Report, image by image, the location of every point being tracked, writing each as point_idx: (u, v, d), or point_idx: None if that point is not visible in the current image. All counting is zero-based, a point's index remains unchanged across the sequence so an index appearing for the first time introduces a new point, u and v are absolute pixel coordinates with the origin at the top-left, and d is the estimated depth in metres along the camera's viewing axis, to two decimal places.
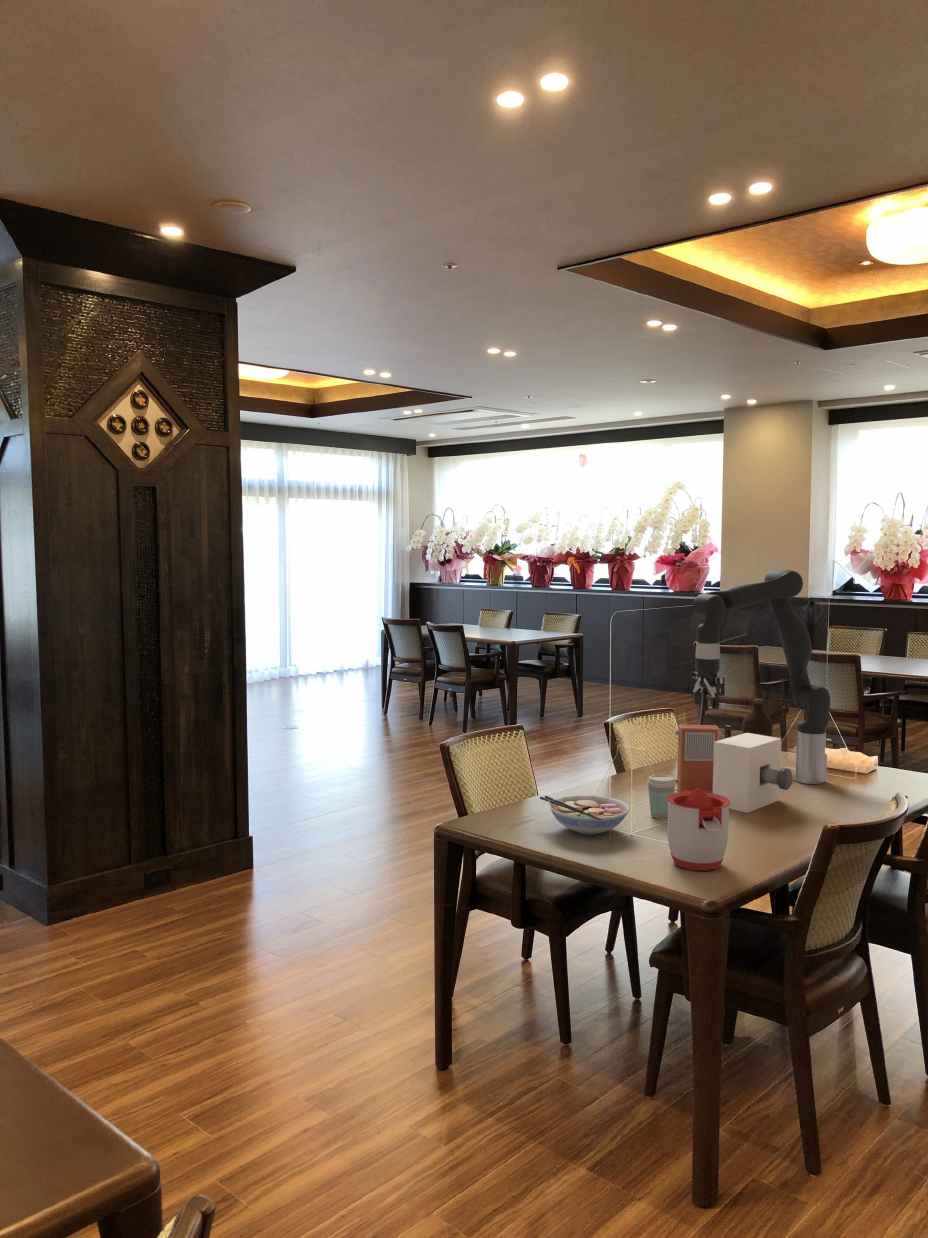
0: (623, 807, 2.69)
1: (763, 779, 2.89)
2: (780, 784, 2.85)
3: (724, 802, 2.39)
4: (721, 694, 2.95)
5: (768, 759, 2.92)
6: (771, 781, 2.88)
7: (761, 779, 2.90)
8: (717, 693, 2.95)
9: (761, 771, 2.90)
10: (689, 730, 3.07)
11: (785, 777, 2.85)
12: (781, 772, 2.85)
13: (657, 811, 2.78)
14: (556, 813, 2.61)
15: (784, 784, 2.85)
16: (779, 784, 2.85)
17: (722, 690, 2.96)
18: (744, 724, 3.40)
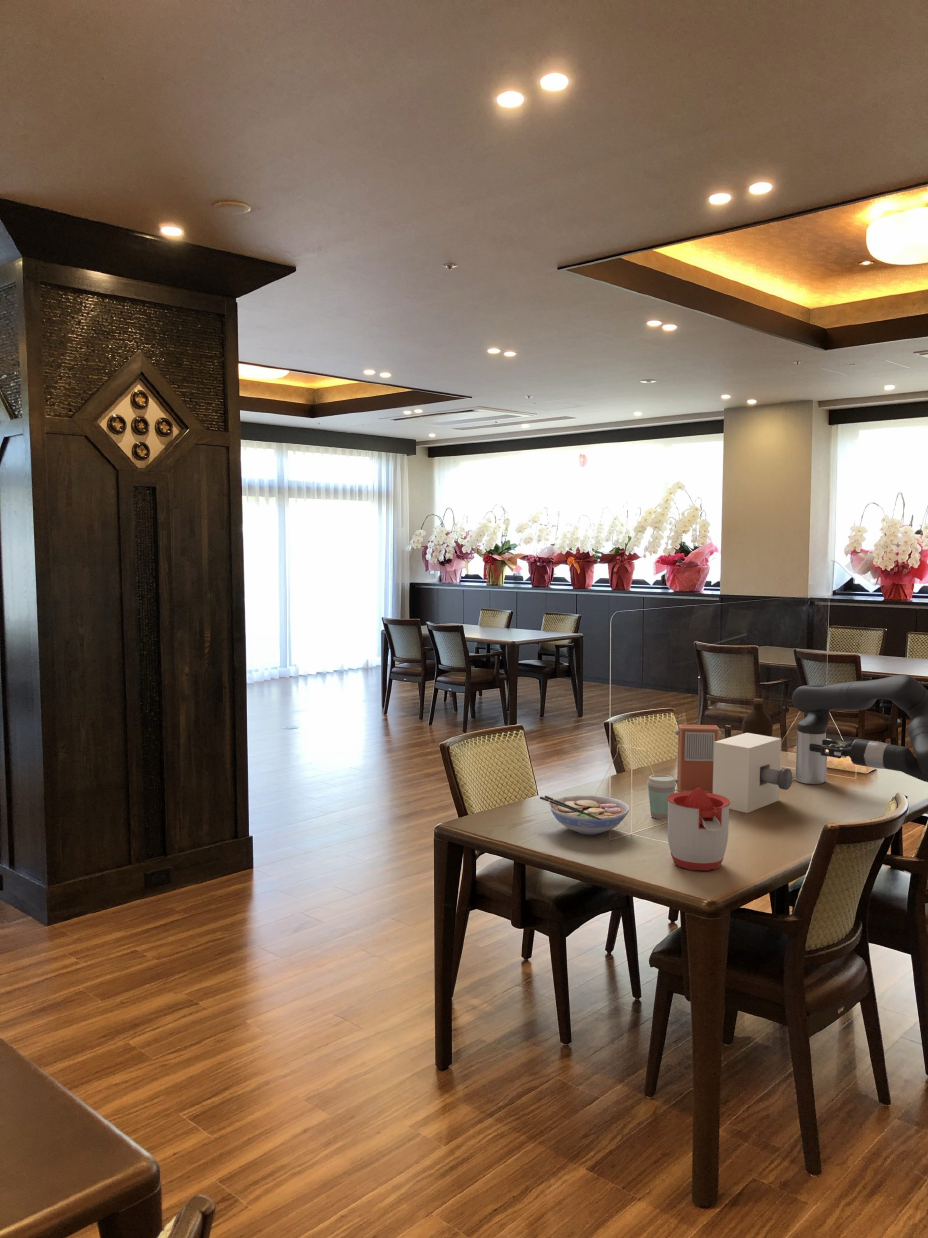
0: (623, 807, 2.69)
1: (763, 779, 2.89)
2: (780, 784, 2.85)
3: (724, 802, 2.39)
4: None
5: (768, 759, 2.92)
6: (771, 781, 2.88)
7: (761, 779, 2.90)
8: None
9: (761, 771, 2.90)
10: (689, 730, 3.07)
11: (785, 777, 2.85)
12: (781, 772, 2.85)
13: (657, 811, 2.78)
14: (556, 813, 2.61)
15: (784, 784, 2.85)
16: (779, 784, 2.85)
17: None
18: (744, 724, 3.40)
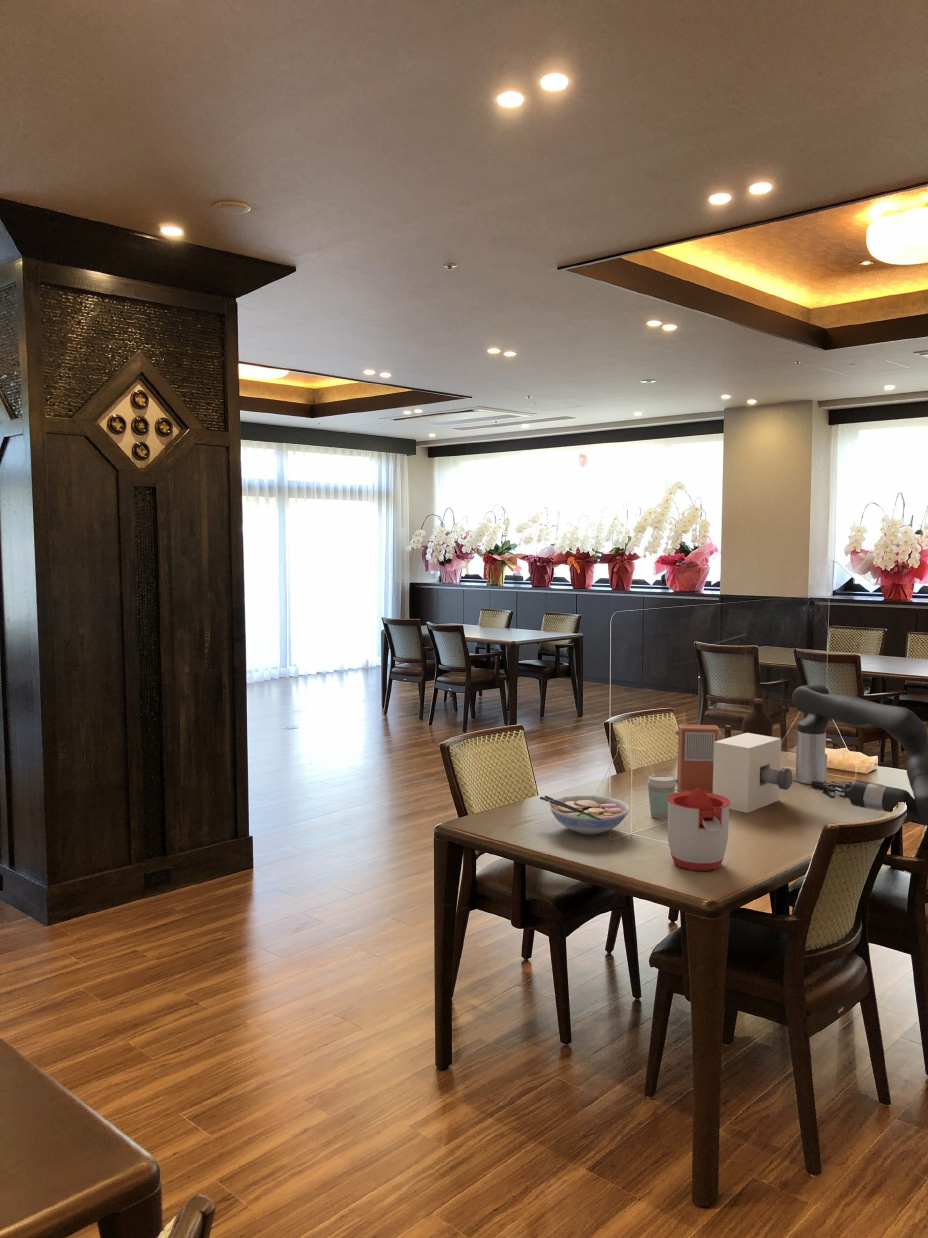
0: (623, 807, 2.69)
1: (763, 779, 2.89)
2: (780, 784, 2.85)
3: (724, 802, 2.39)
4: None
5: (768, 759, 2.92)
6: (771, 781, 2.88)
7: (761, 779, 2.90)
8: None
9: (761, 771, 2.90)
10: (689, 730, 3.07)
11: (785, 777, 2.85)
12: (781, 772, 2.85)
13: (657, 811, 2.78)
14: (556, 813, 2.61)
15: (784, 784, 2.85)
16: (779, 784, 2.85)
17: None
18: (744, 724, 3.40)
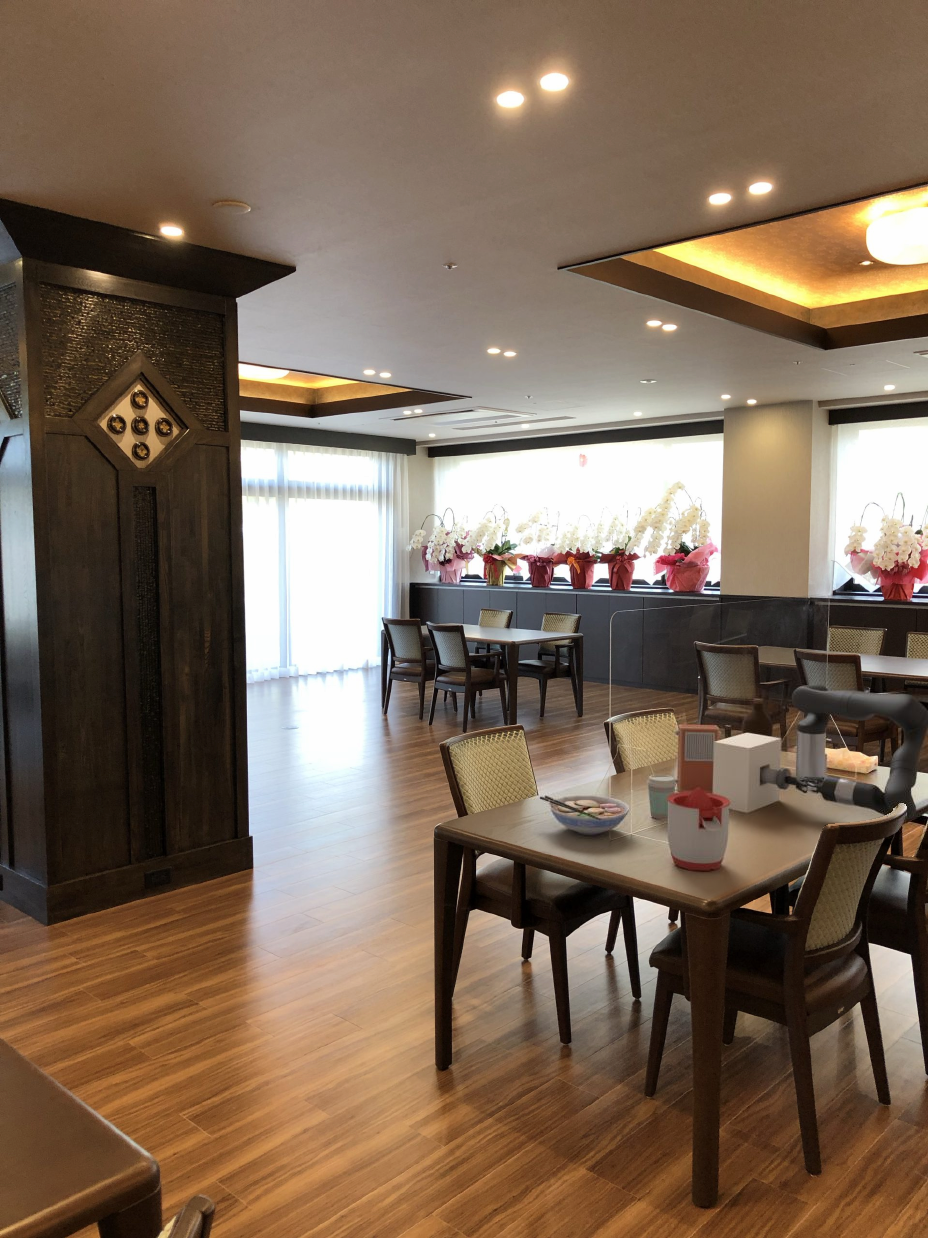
0: (623, 807, 2.69)
1: (762, 779, 2.90)
2: (779, 784, 2.85)
3: (724, 802, 2.39)
4: None
5: (768, 759, 2.92)
6: (770, 781, 2.88)
7: (760, 779, 2.91)
8: None
9: (760, 771, 2.91)
10: (689, 730, 3.07)
11: (784, 777, 2.85)
12: (780, 772, 2.85)
13: (657, 811, 2.78)
14: (556, 813, 2.61)
15: (782, 784, 2.85)
16: (778, 784, 2.85)
17: None
18: (744, 724, 3.40)
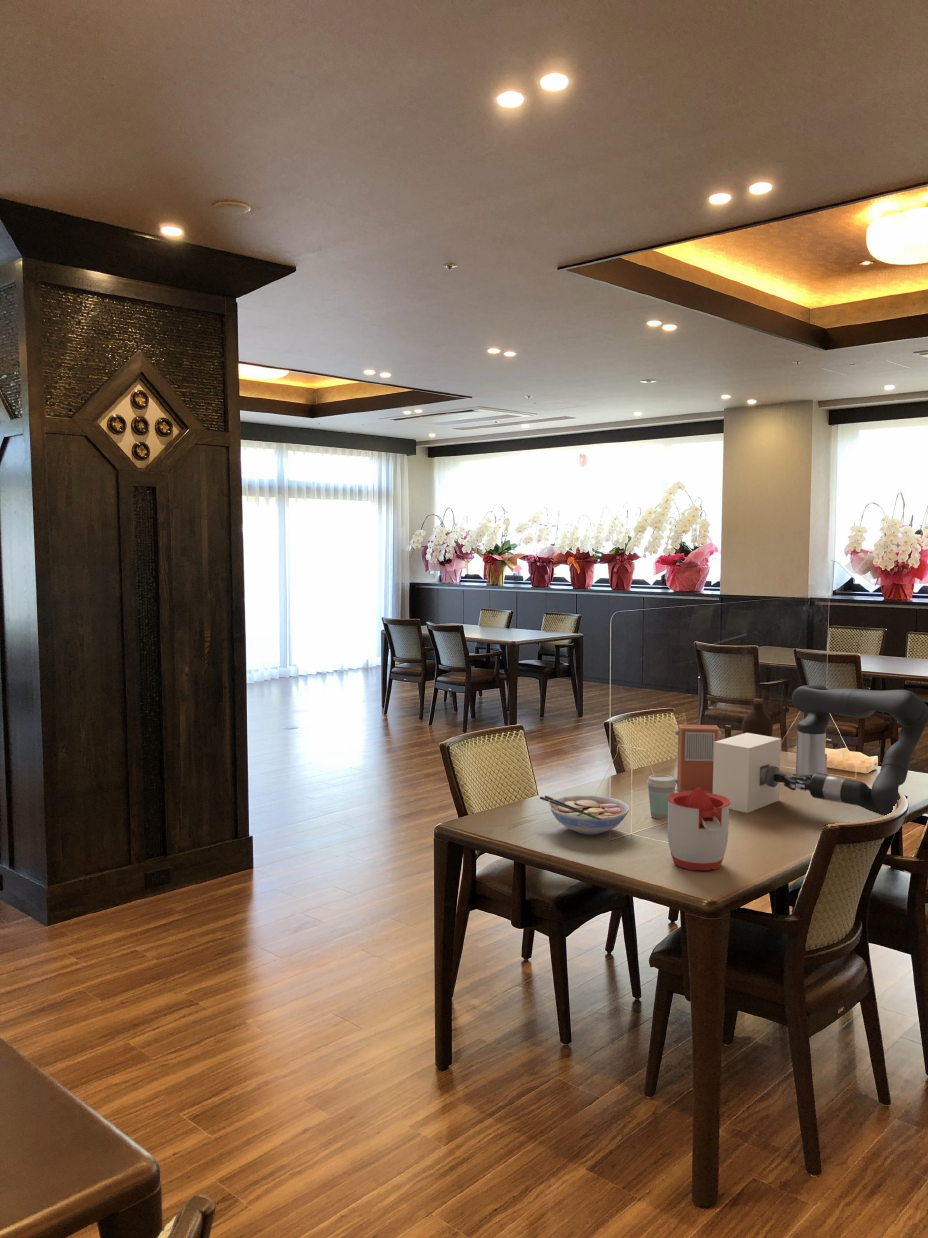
0: (623, 807, 2.69)
1: None
2: (768, 781, 2.87)
3: (724, 802, 2.39)
4: None
5: (768, 759, 2.92)
6: None
7: None
8: None
9: None
10: (689, 730, 3.07)
11: (772, 775, 2.88)
12: (769, 770, 2.88)
13: (657, 811, 2.78)
14: (556, 813, 2.61)
15: (771, 781, 2.88)
16: (767, 781, 2.88)
17: None
18: (744, 724, 3.40)
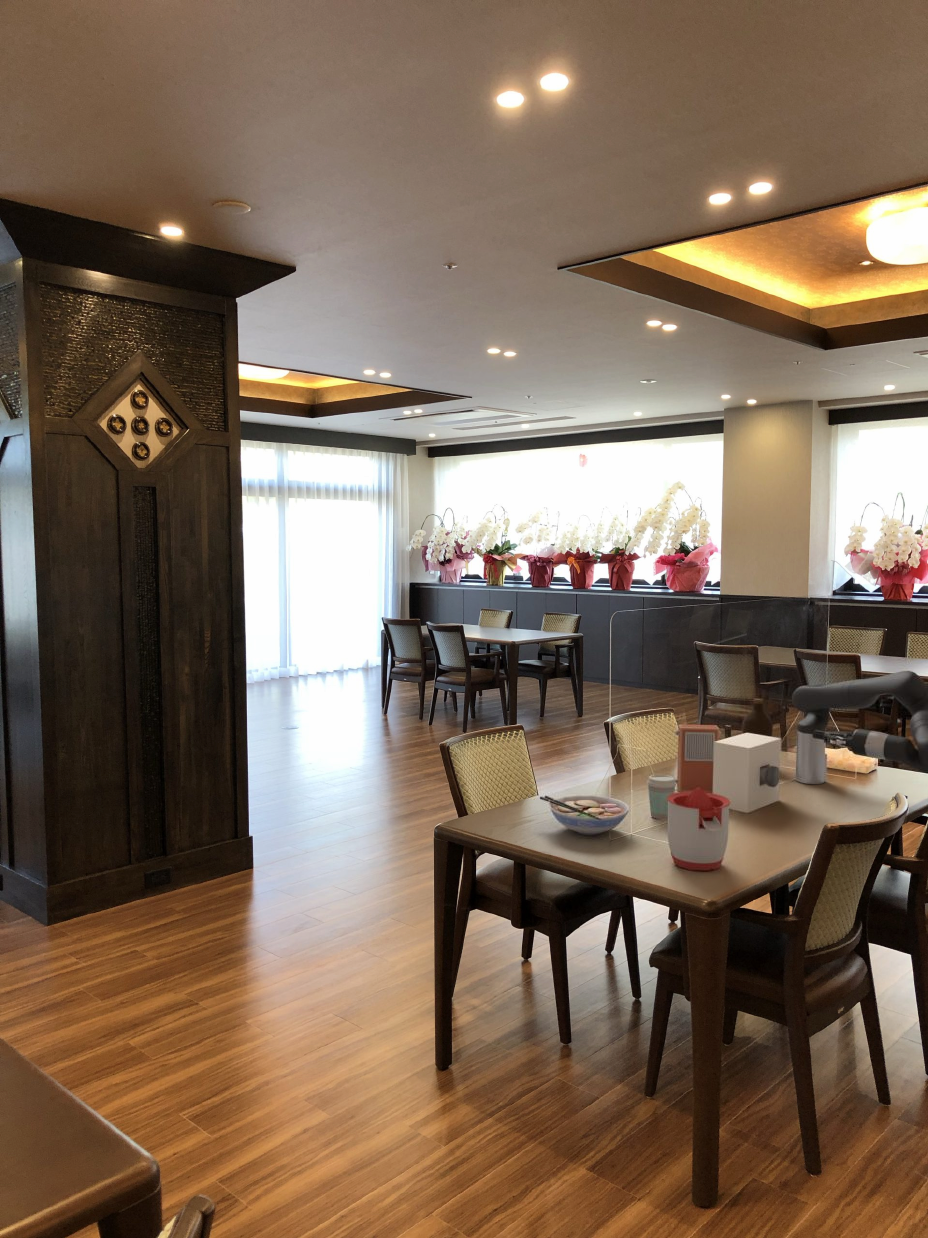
0: (623, 807, 2.69)
1: None
2: (768, 781, 2.87)
3: (724, 802, 2.39)
4: None
5: (768, 759, 2.92)
6: None
7: None
8: None
9: None
10: (689, 730, 3.07)
11: (772, 775, 2.88)
12: (769, 770, 2.88)
13: (657, 811, 2.78)
14: (556, 813, 2.61)
15: (771, 781, 2.88)
16: (767, 781, 2.88)
17: None
18: (744, 724, 3.40)
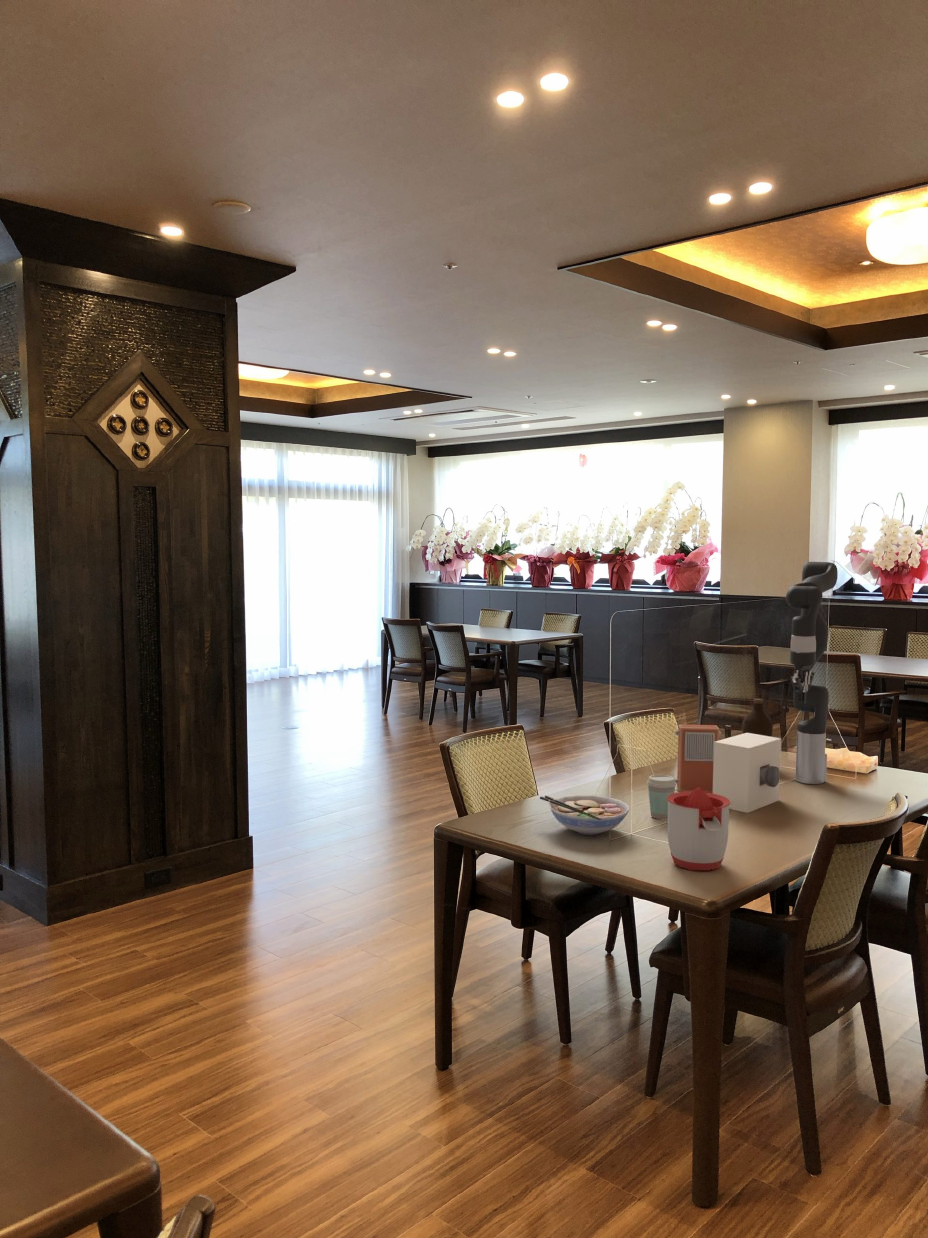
0: (623, 807, 2.69)
1: None
2: (768, 781, 2.87)
3: (724, 802, 2.39)
4: None
5: (768, 759, 2.92)
6: None
7: None
8: (809, 685, 2.98)
9: None
10: (689, 730, 3.07)
11: (772, 775, 2.88)
12: (769, 770, 2.88)
13: (657, 811, 2.78)
14: (556, 813, 2.61)
15: (771, 781, 2.88)
16: (767, 781, 2.88)
17: None
18: (744, 724, 3.40)
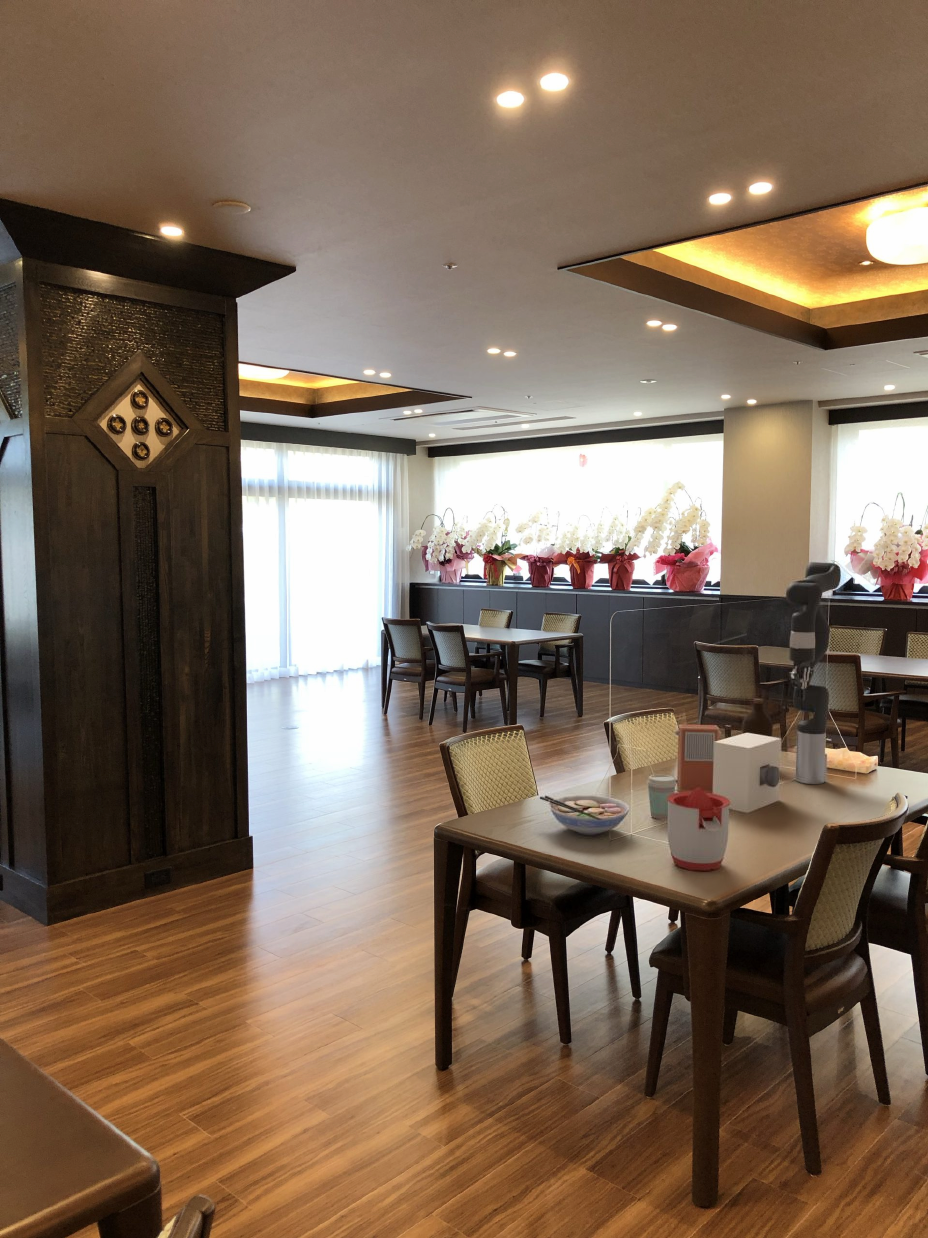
0: (623, 807, 2.69)
1: None
2: (768, 781, 2.87)
3: (724, 802, 2.39)
4: None
5: (768, 759, 2.92)
6: None
7: None
8: (808, 682, 2.99)
9: None
10: (689, 730, 3.07)
11: (772, 775, 2.88)
12: (769, 770, 2.88)
13: (657, 811, 2.78)
14: (556, 813, 2.61)
15: (771, 781, 2.88)
16: (767, 781, 2.88)
17: None
18: (744, 724, 3.40)
